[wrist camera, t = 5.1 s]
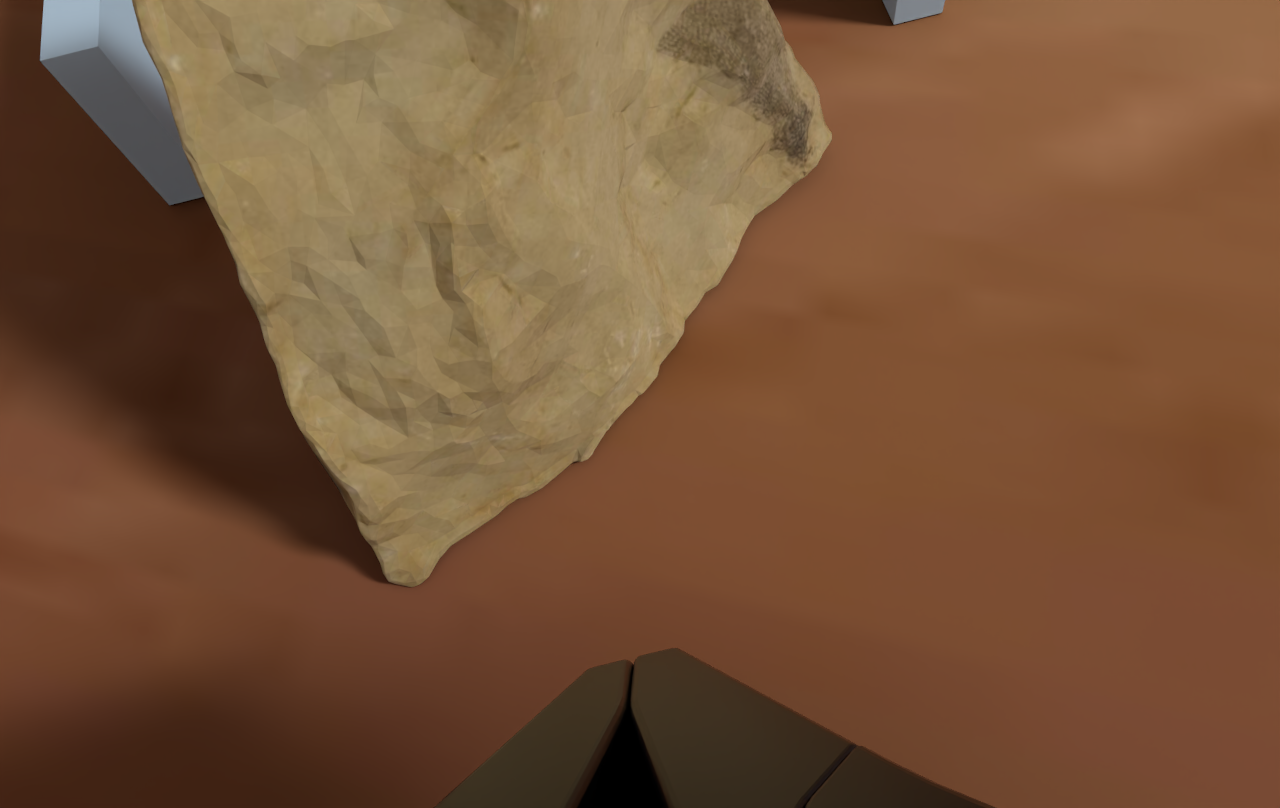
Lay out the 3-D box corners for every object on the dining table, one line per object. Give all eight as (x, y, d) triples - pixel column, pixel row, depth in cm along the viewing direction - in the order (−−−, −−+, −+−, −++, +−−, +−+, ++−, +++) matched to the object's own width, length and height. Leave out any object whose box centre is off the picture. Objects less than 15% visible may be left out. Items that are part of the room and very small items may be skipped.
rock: (767, -123, 19) (228, -43, 18) (999, -403, 11) (12, -292, 9) (847, 426, 21) (371, 532, 20) (1094, 551, 13) (298, 750, 11)
